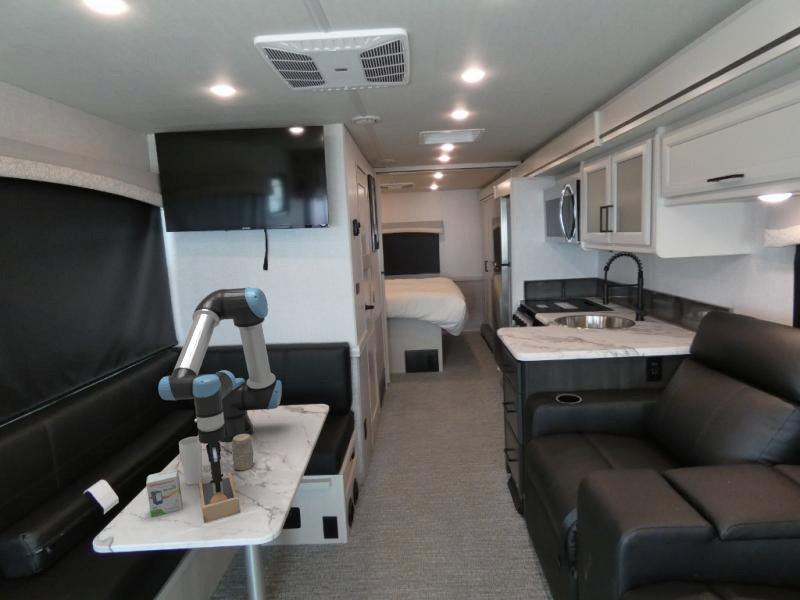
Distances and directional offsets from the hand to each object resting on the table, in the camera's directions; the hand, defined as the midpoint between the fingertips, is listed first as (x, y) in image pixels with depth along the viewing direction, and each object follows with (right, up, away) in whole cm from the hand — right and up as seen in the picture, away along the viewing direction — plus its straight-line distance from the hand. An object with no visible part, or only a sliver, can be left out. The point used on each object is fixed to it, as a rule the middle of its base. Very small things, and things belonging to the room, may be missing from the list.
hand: (219, 499), depth 145 cm
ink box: (-15, -3, -1) cm, 16 cm away
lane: (-2, -2, +4) cm, 4 cm away
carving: (0, +1, +24) cm, 24 cm away
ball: (+2, -2, -4) cm, 5 cm away
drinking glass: (-14, -1, +15) cm, 21 cm away
